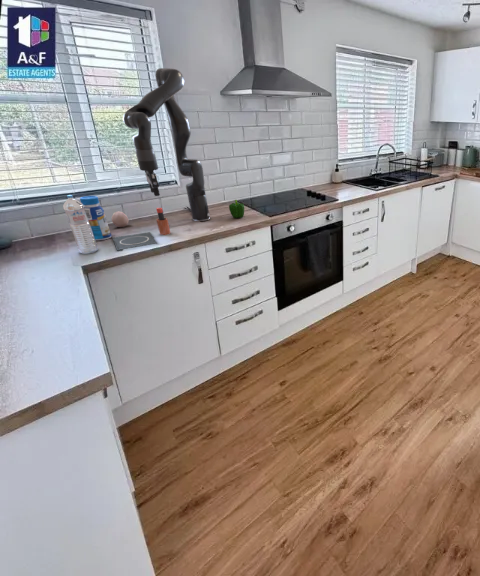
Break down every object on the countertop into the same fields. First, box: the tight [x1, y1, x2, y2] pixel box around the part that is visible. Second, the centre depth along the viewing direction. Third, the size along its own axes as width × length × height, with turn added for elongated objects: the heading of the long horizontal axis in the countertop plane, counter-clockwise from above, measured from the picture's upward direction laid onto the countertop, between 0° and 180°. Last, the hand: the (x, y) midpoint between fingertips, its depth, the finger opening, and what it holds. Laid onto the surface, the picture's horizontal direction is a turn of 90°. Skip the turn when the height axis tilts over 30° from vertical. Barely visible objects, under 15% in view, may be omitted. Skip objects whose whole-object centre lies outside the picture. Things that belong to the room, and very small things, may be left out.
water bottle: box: [62, 194, 99, 255], centre depth 159 cm, size 7×7×25 cm
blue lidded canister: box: [79, 195, 113, 241], centre depth 176 cm, size 8×8×20 cm
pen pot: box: [156, 217, 171, 236], centre depth 186 cm, size 5×5×8 cm
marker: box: [156, 207, 165, 220], centre depth 185 cm, size 2×2×13 cm
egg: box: [111, 211, 129, 228], centre depth 194 cm, size 7×7×8 cm
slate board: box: [112, 231, 158, 252], centre depth 177 cm, size 20×16×1 cm
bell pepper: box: [228, 199, 245, 219], centre depth 217 cm, size 8×8×10 cm
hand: (155, 194), depth 179 cm, fingers open, 8 cm apart
